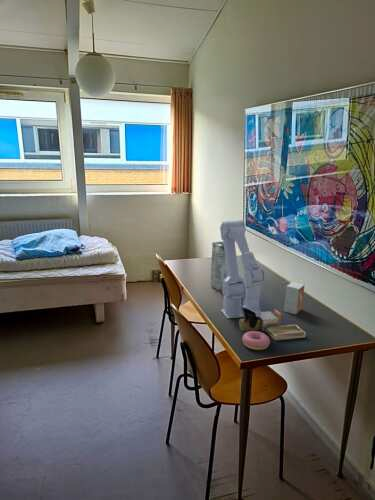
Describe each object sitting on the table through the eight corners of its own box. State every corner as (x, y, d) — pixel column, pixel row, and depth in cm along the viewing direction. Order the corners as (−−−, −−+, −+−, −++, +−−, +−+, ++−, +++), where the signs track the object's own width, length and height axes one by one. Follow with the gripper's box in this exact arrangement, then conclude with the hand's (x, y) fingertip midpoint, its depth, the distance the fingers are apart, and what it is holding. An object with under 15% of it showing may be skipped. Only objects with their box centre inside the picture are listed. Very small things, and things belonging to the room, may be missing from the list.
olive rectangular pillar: (242, 331, 155) (242, 322, 154) (238, 327, 159) (239, 319, 158) (261, 329, 157) (262, 321, 156) (257, 325, 161) (258, 317, 160)
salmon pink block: (258, 323, 162) (259, 310, 160) (274, 322, 164) (276, 309, 162) (263, 329, 157) (264, 315, 155) (280, 327, 159) (281, 314, 157)
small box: (296, 314, 173) (299, 289, 169) (283, 311, 176) (286, 286, 173) (302, 309, 179) (304, 284, 176) (289, 306, 183) (292, 281, 179)
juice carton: (217, 291, 199) (220, 243, 192) (208, 285, 208) (210, 239, 201) (231, 289, 202) (234, 242, 196) (222, 283, 212) (224, 238, 205)
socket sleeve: (254, 323, 163) (255, 312, 161) (269, 322, 164) (270, 311, 163) (262, 331, 155) (263, 319, 154) (277, 329, 157) (278, 318, 156)
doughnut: (265, 338, 150) (266, 328, 149) (273, 351, 140) (274, 342, 139) (239, 337, 150) (240, 328, 149) (244, 351, 139) (245, 342, 138)
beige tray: (266, 332, 155) (267, 327, 154) (296, 329, 158) (296, 324, 158) (274, 340, 148) (275, 335, 147) (305, 337, 152) (305, 331, 151)
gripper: (237, 290, 160) (235, 318, 163) (251, 303, 146) (248, 333, 150) (252, 289, 162) (250, 317, 165) (267, 301, 148) (264, 332, 152)
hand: (250, 325), depth 158 cm, fingers closed on olive rectangular pillar, 4 cm apart
